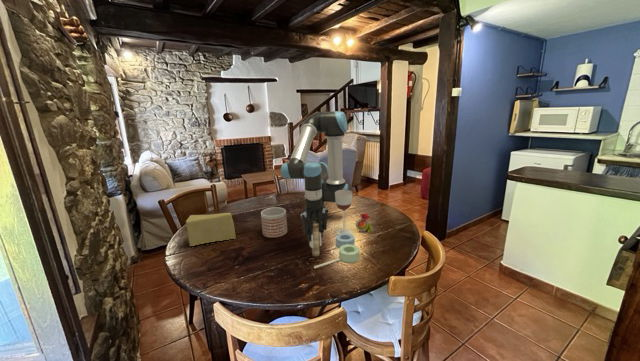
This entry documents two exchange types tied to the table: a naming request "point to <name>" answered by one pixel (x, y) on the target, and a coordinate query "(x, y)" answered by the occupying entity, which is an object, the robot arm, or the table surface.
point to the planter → (274, 222)
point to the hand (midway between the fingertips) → (315, 245)
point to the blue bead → (345, 239)
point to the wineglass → (343, 206)
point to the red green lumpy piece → (361, 225)
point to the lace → (326, 263)
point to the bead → (349, 253)
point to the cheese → (210, 228)
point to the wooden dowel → (315, 239)
